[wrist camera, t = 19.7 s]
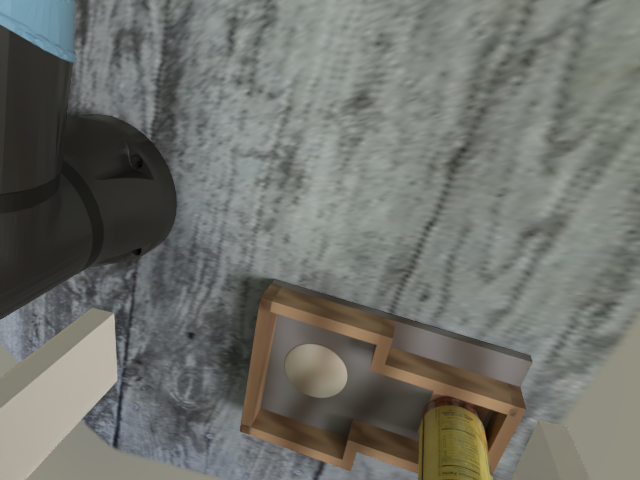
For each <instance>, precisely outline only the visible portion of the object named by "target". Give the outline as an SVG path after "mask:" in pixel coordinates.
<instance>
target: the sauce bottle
mask: <svg viewBox="0 0 640 480" xmlns="http://www.w3.org/2000/svg"><path fill="white" fill-rule="evenodd" d="M418 480H493V478H492V472H491V466H490V460H489V454H488V447H487V441H486V435H485V430H484V426H483V424H482V420H481V418H480V417H479V415H478V413H477V412H476V411H475V410H474V409H473V408H472V407H471V405H469V404H468V403H466V402H464V401H461V400H458V399H452V398H440V399H438V400H435V401H433V402H432V403H430V404H429V405H428V406H426V408H424V410H423V413H422V420H421V424H420V433H419V474H418Z"/></svg>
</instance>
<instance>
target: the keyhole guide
mask: <svg viewBox="0 0 640 480" xmlns="http://www.w3.org/2000/svg"><path fill="white" fill-rule="evenodd" d="M532 363H533V362H532V359H531V356H529V355H526V354H523V353H519V352H516V351H513V350H509V349H506V348H503V347H499V346H496V345H493V344H489V343H486V342H483V341H479V340H476V339H473V338H469V337H466V336H463V335H459V334H456V333H452V332H449V331H446V330H442V329H439V328H436V327H432V326H429V325H426V324H422V323H419V322H416V321H412V320H409V319H406V318H402V317H399V316H396V315H392V314H389V313H386V312H382V311H379V310H376V309H372V308H369V307H366V306H362V305H359V304H356V303H352V302H349V301H346V300H342V299H339V298H336V297H332V296H329V295H326V294H322V293H319V292H316V291H312V290H309V289H306V288H302V287H299V286H296V285H292V284H289V283H286V282H282V281H279V280H276V279H274V280H273V282H272V283H271V284H270V286H269V287H268V288H267V290H266V291H265V292H264V293H263V295H262V296H261V297H260V303H259V309H258V316H257V322H256V329H255V335H254V342H253V348H252V355H251V361H250V368H249V374H248V381H247V387H246V394H245V400H244V407H243V413H242V420H241V426H240V432H243V433H246V434H249V435H251V436H254V437H257V438H260V439H263V440H265V441H268V442H271V443H274V444H276V445H279V446H282V447H285V448H288V449H290V450H293V451H296V452H299V453H301V454H304V455H307V456H310V457H312V458H315V459H318V460H321V461H324V462H326V463H329V464H332V465H335V466H337V467H340V468H343V469H346V470H349V471H351V468H352V465H353V462H354V459H355V456H356V453H357V452H359V453H362V454H364V455H367V456H370V457H373V458H376V459H379V460H381V461H384V462H387V463H390V464H393V465H396V466H398V467H401V468H404V469H407V470H410V471H413V472H415V473H418V474H419V433H420V424H421V420H422V413H423V410H424V408H426V406H428V405H429V404H430V403H432V402H433V401H435V400H438V399H440V398H452V399H458V400H461V401H464V402H466V403H468V404H469V405H471V407H472V408H473V409H474V410H475V411H476V412H477V413H478V415H479V417H480V418H481V420H482V424H483V426H484V430H485V435H486V441H487V447H488V454H489V460H490V466H491V472H492V474H493V472H494V470H495V468H496V466H497V464H498V462H499V460H500V458H501V457H502V455H503V453H504V451H505V449H506V447H507V445H508V443H509V441H510V439H511V437H512V436H513V434H514V432H515V430H516V428H517V426H518V424H519V422H520V420H521V418H522V416H523V415H524V413H525V411H526V407H525V403H524V399H523V396H522V392H521V388H520V386H521V384H522V382H523V380H524V378H525V376H526V374H527V372H528V371H529V369H530V367H531V365H532Z"/></svg>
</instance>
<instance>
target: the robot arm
mask: <svg viewBox="0 0 640 480" xmlns="http://www.w3.org/2000/svg"><path fill="white" fill-rule="evenodd" d="M74 20H75V1H74V0H0V319H2V318H4V317H5V316H7V315H9V314H10V313H12V312H14V311H16V310H17V309H19V308H21V307H22V306H24V305H26V304H27V303H29V302H31V301H32V300H34V299H36V298H37V297H39V296H41V295H42V294H44V293H46V292H47V291H49V290H51V289H52V288H54V287H56V286H57V285H59V284H61V283H62V282H64V281H66V280H67V279H69V278H71V277H72V276H74V275H76V274H78V273H79V272H81V271H83V270H85V269H86V268H88V267H95V266H101V265H107V264H114V263H120V262H126V261H131V260H134V259H136V258H139V257H141V256H143V255H145V254H146V253H148V252H149V251H151V250H152V249H154V248H156V247H157V246H158V245H160V244H161V243H162V242H163V241H164V240H165V238H166V237H167V236H168V234H169V232H170V231H171V228H172V226H173V223H174V220H175V215H176V204H177V202H176V191H175V186H174V182H173V179H172V176H171V173H170V171H169V168H168V166H167V164H166V162H165V160H164V159H163V157H162V155H161V154H160V152H159V151H158V150H157V148H156V147H155V146H154V145H153V144H152V142H151V141H150V140H149V139H148V138H147V137H146V136H145V135H143V134H142V133H141V132H140V131H139V130H137V129H136V128H134V127H133V126H131V125H130V124H128V123H126V122H124V121H122V120H119V119H117V118H114V117H110V116H105V115H88V116H81V117H74V118H70V119H67V120H66V118H67V108H68V100H69V91H70V83H71V75H72V66H73V63H76V53H75V52H74ZM116 381H117V361H116V342H115V323H114V313H111V312H107V311H103V310H99V309H95V308H91V309H90V310H89V311H87V312H86V313H85V314H83V315H82V316H81V317H79V318H78V319H77V320H75V321H74V322H73V323H71V324H70V325H69V326H68V327H66V328H65V329H64V330H62V331H61V332H60V333H58V334H57V335H56V336H54V337H53V338H52V339H51V340H49V341H48V342H47V343H45V344H44V345H43V346H41V347H40V348H39V349H37V350H36V351H35V352H33V353H32V354H31V355H30V356H28V357H27V358H26V359H24V360H23V361H22V362H20V363H19V364H18V365H16V366H15V367H14V368H13V369H11V370H10V371H9V372H7V373H6V374H5V375H3V376H2V377H1V378H0V480H26V479H27V477H28V476H29V475H30V474H31V473H32V472H33V471H34V470H35V469H36V468H37V467H38V466H39V465H40V463H41V462H42V461H43V460H44V459H45V458H46V457H47V456H48V455H49V454H50V453H51V452H52V450H53V449H54V448H55V447H56V446H57V445H58V444H59V443H60V442H61V441H62V440H63V439H64V438H65V436H66V435H67V434H68V433H69V432H70V431H71V430H72V429H73V428H74V427H75V426H76V425H77V423H78V422H79V421H80V420H81V419H82V418H83V417H84V416H85V415H86V414H87V413H88V412H89V411H90V410H91V408H92V407H93V406H94V405H95V404H96V403H97V402H98V401H99V400H100V399H101V398H102V397H103V395H104V394H105V393H106V392H107V391H108V390H109V389H110V388H111V387H112V386H113V385H114V384H115V383H116ZM511 480H590V478H589V476H588V473H587V471H586V469H585V467H584V464H583V462H582V460H581V458H580V455H579V453H578V451H577V448H576V446H575V444H574V441H573V439H572V437H571V435H570V433H569V430H568V428H567V427H565V426H561V425H557V424H553V423H550V422H546V421H542V420H539V421H538V423H537V425H536V427H535V429H534V431H533V434H532V436H531V438H530V440H529V442H528V444H527V446H526V448H525V450H524V453H523V455H522V457H521V459H520V461H519V463H518V465H517V467H516V469H515V471H514V474H513V476H512V478H511Z"/></svg>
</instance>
